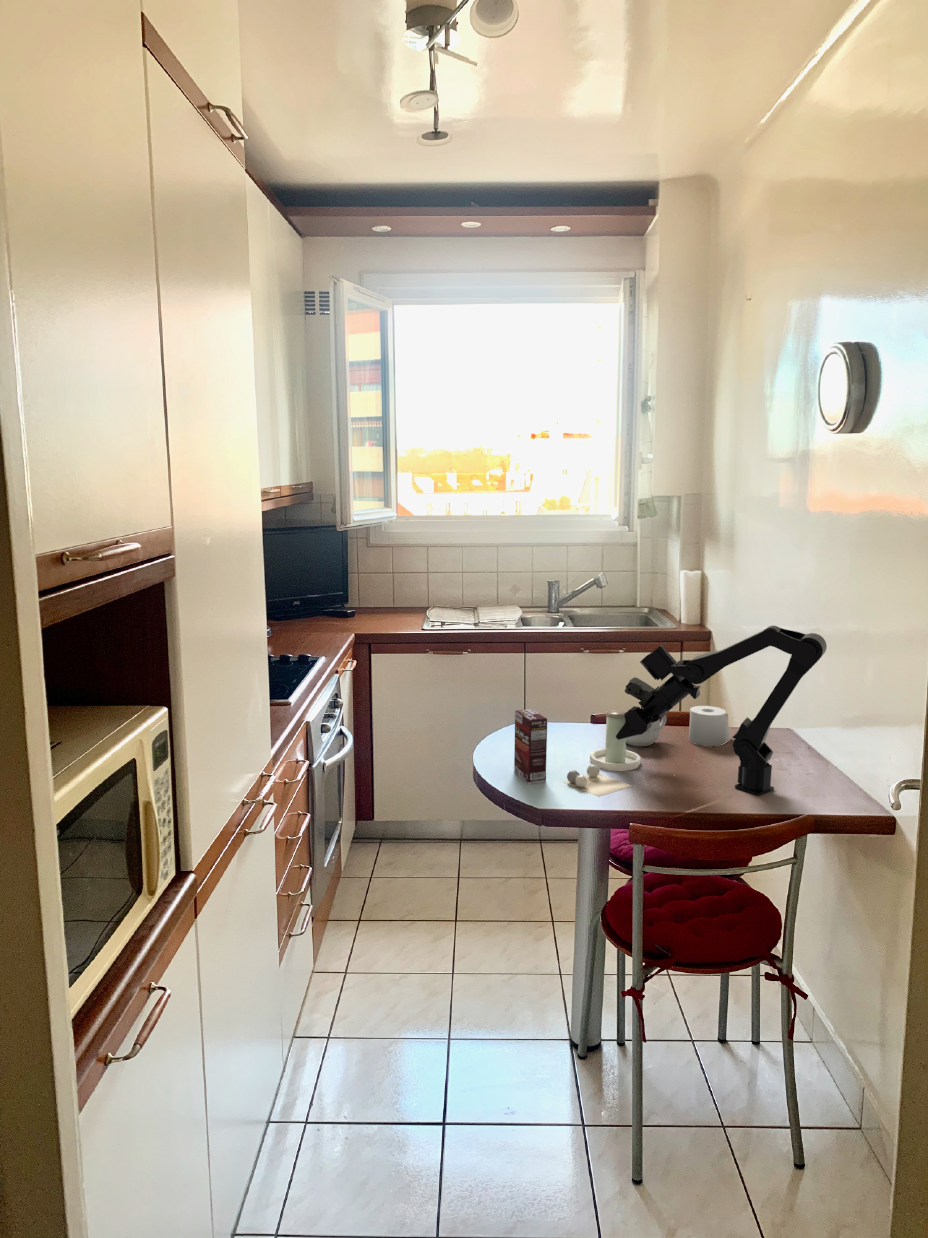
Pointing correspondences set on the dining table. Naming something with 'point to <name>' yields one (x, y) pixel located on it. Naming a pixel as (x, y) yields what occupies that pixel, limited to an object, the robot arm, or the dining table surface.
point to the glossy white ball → (593, 771)
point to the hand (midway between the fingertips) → (623, 733)
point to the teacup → (647, 734)
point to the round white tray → (631, 763)
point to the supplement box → (530, 746)
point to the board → (601, 785)
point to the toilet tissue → (708, 726)
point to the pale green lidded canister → (614, 746)
